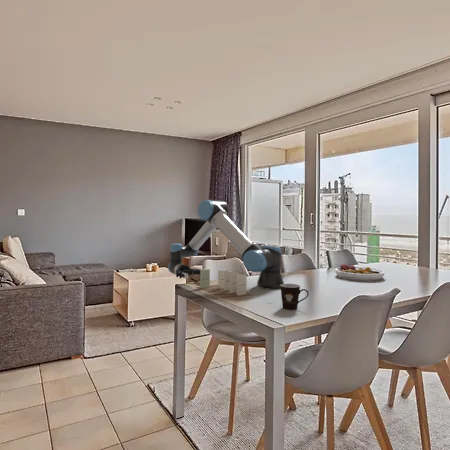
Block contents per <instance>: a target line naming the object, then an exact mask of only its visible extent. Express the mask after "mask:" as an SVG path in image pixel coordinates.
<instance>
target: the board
mask: <svg viewBox="0 0 450 450" xmlns="http://www.w3.org/2000/svg"><path fill="white" fill-rule="evenodd" d="M194 288H195V289H198V290H200V291H203V292H205V293H207V294H211V295H212V296H215V297H218V298H220V299H223V300H227V299H233V298H241V297H247V296H248V297H249V296H253V294H250V293H248V292H247V293H246V294H245V295H237V293H230V290H229V291H224V288H223V289H219V288H218V284H214V285H213V284H212V285H211V284H210V287H209V288H200V286H196V287H194Z"/></svg>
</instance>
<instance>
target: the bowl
mask: <svg viewBox="0 0 450 450" xmlns="http://www.w3.org/2000/svg"><path fill="white" fill-rule="evenodd" d="M335 274H336V276H337V277H338V278H340V279H343V280H349V281H356V282H357V281H359V282H374V281H380V280H381V279H383V278H384V276H385V271H384V270H381V269H377V268H372V267H370V266H367V267H361V266H358V267H357V266H355V265H354V264H349V265H348V264H347V263H343V264H341V265H340V266H339V267H337V268H335Z"/></svg>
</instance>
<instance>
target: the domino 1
mask: <svg viewBox="0 0 450 450" xmlns="http://www.w3.org/2000/svg"><path fill="white" fill-rule="evenodd" d="M210 270H211V269H209V268H206V269H205V268H203V269H201V270H200V275H199V277H200V280H199V287H200V288H209V287H210V286H211V284H210V283H211V282H210V281H211V276H210V275H211V274H210Z"/></svg>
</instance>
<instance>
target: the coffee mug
mask: <svg viewBox="0 0 450 450" xmlns="http://www.w3.org/2000/svg"><path fill="white" fill-rule="evenodd" d="M280 286H281V288H280V293H281V295H280V297H281V305H282V309H284V310H288V311H289V310H290V311H293V310H297V309H298V304H299V303H301V302H302V301H304V300H306V299H307V298H308V297H309V291H308V290H307V289H305V288H303V289H302V288H301V285H299V284H296V283H284V284H281V285H280ZM303 291H305V292H306V293H307V294H306V295H305V297H304V298H302V299H299V297H300V295H301V292H303Z"/></svg>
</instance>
